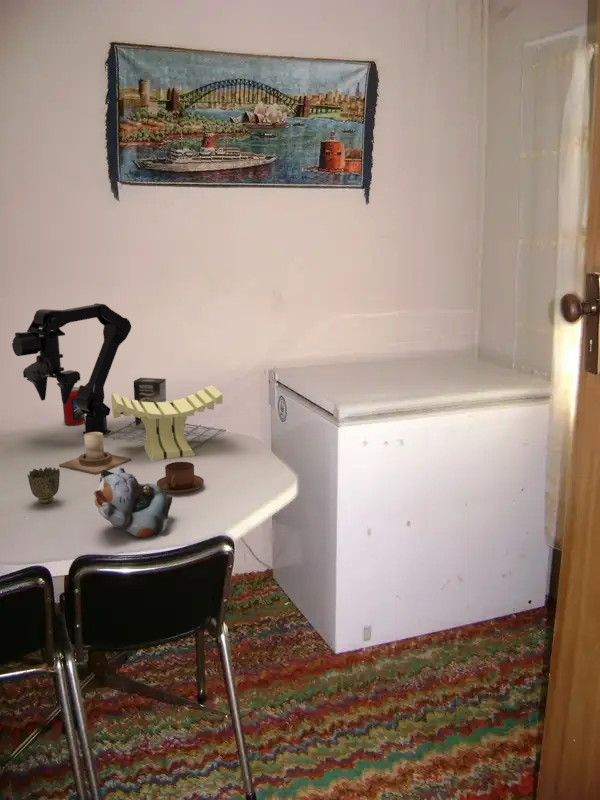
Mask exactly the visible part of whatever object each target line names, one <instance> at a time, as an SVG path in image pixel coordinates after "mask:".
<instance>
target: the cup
mask: <svg viewBox="0 0 600 800" xmlns="http://www.w3.org/2000/svg"><path fill="white" fill-rule="evenodd" d="M60 473H61V472H60V469H59V468H57V469H56V467H53V468H52V467H47V466H45V467H44V469H42V468H41V467H39V469H35V468H33V469H32V470H29V472H28V473H27V475H26V476H27V479H28V483H29V487H30V491H31V493H32V495H33V496H34V497H35V498H37V500H38V503H39V504H41V505H49V504H51V503H53V502H54V500H55V498H54V497H55V496H56V495H57V494H58V492H59V488H60Z"/></svg>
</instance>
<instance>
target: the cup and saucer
mask: <svg viewBox="0 0 600 800" xmlns="http://www.w3.org/2000/svg"><path fill="white" fill-rule="evenodd" d="M164 472H165V476H163V477H161V478H160V479H158V480H157V481H156V485H157V486H159V487H160V488H161V489H162V490H163V491H164V493H169V494H187V493H191V492H194V491H196V490H199V488H201V487H202V486H203V485H204V481H205V480H204V479H203V477H201V476H199V475H196V474H195V465H194V463H192V462H188V461H175V462H170V463H167V464H166V465H165V466H164Z"/></svg>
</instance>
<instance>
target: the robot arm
mask: <svg viewBox="0 0 600 800" xmlns="http://www.w3.org/2000/svg"><path fill="white" fill-rule="evenodd" d="M95 318H96V319H97V321H99V323H100V324H101V325H103V330H102V331H103V332H102V334H103V335H102V336H103V343H102V345H101V347H100V351H99V353H98V356H97V359H96V362H95V364H94V366H93V369H92V372H91V375H90V377H89V380H88V382H87V383H86V384H85V385H81V384H80V385H79V390H78V393H77V395H76V396H75V397H77V398H76V404H77V406H78V408H80V409H81V412H82V413H83V414H85V421H84V427H85V430H84V431H82V434H84V435H85V434H86V433H90V432H101V433H103V435H105V434H107V433H110V432H112V430H111V429H109V428H108V422H107V416H110V415H111V414H110V413H111V408H110V407H109V406H108V405H106V403H104V400H105V391H104V390H105V384H106V382H107V379H108V376H109V374H110V373H109V372H110V371H111V368H112V366H113V362H114V360H115V357H116V355H117V351H118V349H119V347H120V345H121V344H122V343H123V342H125V340H127V338H128V336H129V334H130V332H131V329H132V324H131V321H130V320H129V318H127V317H124V316H122V315H121V314H119V313H117V312H116V311H114V310H112V309H111V308H110V307H109V306H108V305H107V304H105V303H96V302H95V303H94V304H91V305H84V306H79V307H78V306H77V307H73V308H71V307H70V308H67V309H45V308H44V309H43V308H42V309H38V310H36V311H35V313H34V316H33V320H32V322H31V324H30V325H29V327H28V328H27V331H24V332H20V331H19V332H15V333H14V335H15V336H14V338H13V339H12V343H11V346H12V350H13V352H14V354H15V356H17V357H21V356H29V355H36V354H38V353H39V355H36V358H35V359H36V361H35V362H33V363H31V364H30V365H28V366H27V367H25V368H24V369H23V371H22V373H23V374H22V375H23V378H26V381H29V382H31V383H32V384H33V386H34V387H35V389H36V391H37V394H38V396H39V398H40V401H42V402H43V401H45V400H46V397H47V396H46V395H47V387H48V378H53V379H56V381H57V382H56V385H57V386H58V387H59V389H60V396H61V401H62V402H61V403H62V405H63V404H66V403H67V400H68V398H69V395H70V393H71V391H72V389H73V387H75V384H77V383H78V382H79V381H81V374H80V372H79V371H77V370H70V369H69V370H65V367H64V366H63V367H62V364H61V363H62V362H61V359H62V358H64V354H63V353H60V338H59V337H61V336H65V335H66V333H65V332H64V331H63V330H61V328H62V327H65V325H67V324H69V323H75V322H78V321H79V322H80V321H85V320H90V319H95Z"/></svg>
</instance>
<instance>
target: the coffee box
mask: <svg viewBox="0 0 600 800" xmlns="http://www.w3.org/2000/svg"><path fill="white" fill-rule="evenodd" d="M166 380H167V379H166V378H157V377H156V378H155V377H152V378H151V377H139V378H136V379H135V380H133V395H134V396H133V397H134V398H133V400H138V402H139V404H140V405H141V402H153V403H154V404H156V402H167V389H166V387H167V384H166ZM134 419H135V429H139V430H140V429H141V430H146V429H145V426H144V423H143V421H142V419H141V417H140V418H138V417H134ZM156 427H157V419H156Z"/></svg>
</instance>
